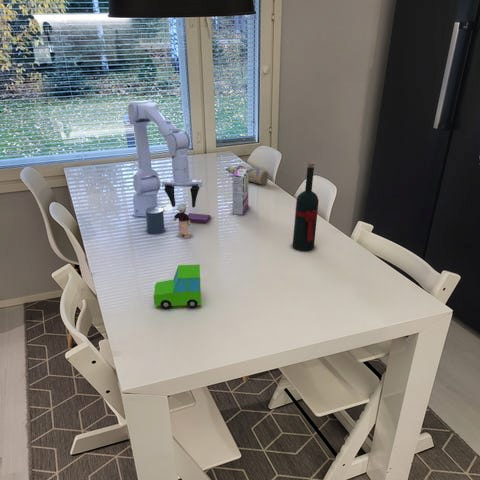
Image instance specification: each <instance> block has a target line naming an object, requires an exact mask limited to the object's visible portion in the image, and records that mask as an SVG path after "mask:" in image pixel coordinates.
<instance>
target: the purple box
mask: <svg viewBox="0 0 480 480" xmlns="http://www.w3.org/2000/svg"><path fill="white" fill-rule="evenodd" d="M187 215H188V217H189V219H190V223H195V224H206V225H207V223H208V222H209V220H210V219H211V215H210V214H206V213H205V214H204V213H195V212H194V213H193V212H189V213H187Z"/></svg>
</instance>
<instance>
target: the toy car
mask: <svg viewBox="0 0 480 480" xmlns="http://www.w3.org/2000/svg"><path fill="white" fill-rule="evenodd" d="M201 292H202V291H201V264H178V265H177V268H176V271H175V274H174V276H173V279H168V280H163V281H157V282H155V284H154V292H153V300H154V302H153V303H154V306H155V307H161V308H162V309H163V310H169V309H170V308H171V307H176V306H177V307H179V306H187V307H188V308H189V309H196V308H197V307H198V306H201V305H202V293H201Z"/></svg>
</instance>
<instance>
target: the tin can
mask: <svg viewBox="0 0 480 480" xmlns="http://www.w3.org/2000/svg"><path fill="white" fill-rule="evenodd" d="M145 220H146V221H145V222H146V232H147V233H148V234H150V235H160V234H163V233H164V232H165V231H166V230H165V217H164V209H163V208H162V207H160V206H158V207H151V208H147V209H146V217H145Z"/></svg>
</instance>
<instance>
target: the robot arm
mask: <svg viewBox="0 0 480 480" xmlns="http://www.w3.org/2000/svg"><path fill="white" fill-rule="evenodd" d="M127 115H128V121H129V125H131V126H132V129H133V135H134V143H135V150H136V156H137V164H138V169H137V170H136V171H135V172H134V173H133V176H132V177H133V182H132V186H133V190H134V191H135V192H134V194H133V197H132V205H133V213H134V214H133V216H134V217H145V218H146V209H147V208H151V207H159V206H158V204H159V203H158V193H159V191H160V190H161V187H162V188H164V189H163V191H164V192H165V194H166V195H167V197H168V199H169V201H170V204H171V208H174V207H176V197H175V187H180V188H181V187H182V188H183V187H185V188H187V187H188V188H189V187H190V189H189V190H190V195H191V207H192V208H195V207H196V202H197V197H198V193H199V191H200V188H202V186H203V181H202V180H197V179H190V169H189V168H190V167H189V155H188V149H189V148H190V147H191V139H190V136H189V134H188V132H187V131H186V130H179V128H178V127H177V126H176V125H175V124H174V123H173V122H172V120H170V119H165V118H164V116H163V115H162V113H161V112H160V111H159V105H158V103H157V102H156V101H155V100H154V99H150V100H140V101H139V100H138V101H137V100H136V101H129V103H128V106H127ZM151 122H152V123H153V124H154V125H155V126H156V127H157V131H158V133H159V134H160V135H161V137H162V138H163V139H164V140H165V141H166V146H167V149H168V153H169V156H170V158H171V169H172V178H173V179H166V180H165V179H164V180H161V179H160V177H159V172H157V171H156V170H155V169H154V168H152V160H151V152H150V143H149V137H148V128H147V127H148V126H149V124H151Z"/></svg>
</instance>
